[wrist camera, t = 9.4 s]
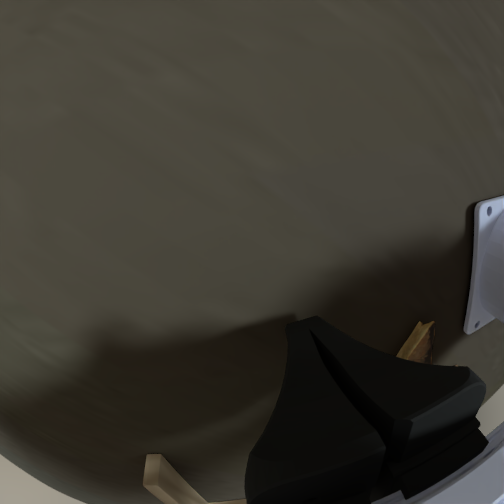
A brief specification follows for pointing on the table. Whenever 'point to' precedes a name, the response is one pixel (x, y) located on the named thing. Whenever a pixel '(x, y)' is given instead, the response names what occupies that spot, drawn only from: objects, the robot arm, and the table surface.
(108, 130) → the table surface
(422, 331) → the shard
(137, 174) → the table surface
